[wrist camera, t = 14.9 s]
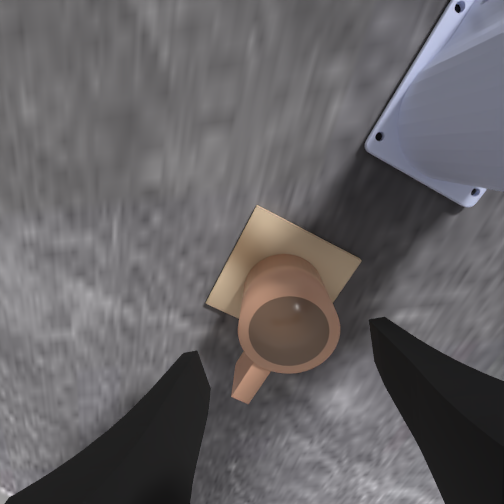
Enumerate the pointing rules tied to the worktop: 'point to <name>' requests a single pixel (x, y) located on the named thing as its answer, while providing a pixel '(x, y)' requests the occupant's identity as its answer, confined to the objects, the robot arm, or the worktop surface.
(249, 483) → the worktop surface
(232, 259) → the mat
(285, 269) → the mug
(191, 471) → the robot arm
